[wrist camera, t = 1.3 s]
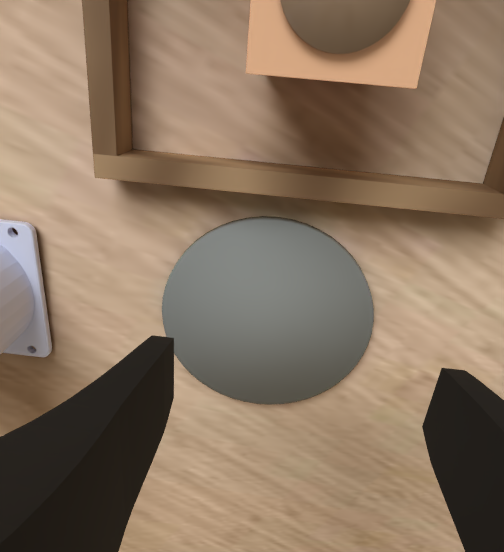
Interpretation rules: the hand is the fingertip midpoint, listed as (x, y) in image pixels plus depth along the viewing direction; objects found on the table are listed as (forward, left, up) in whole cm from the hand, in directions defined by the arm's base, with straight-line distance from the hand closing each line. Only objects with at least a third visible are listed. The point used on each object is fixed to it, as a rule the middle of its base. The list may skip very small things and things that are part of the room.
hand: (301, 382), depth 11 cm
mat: (-1, -4, -10) cm, 11 cm away
